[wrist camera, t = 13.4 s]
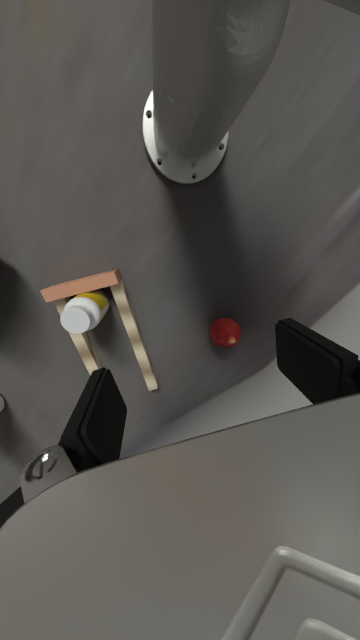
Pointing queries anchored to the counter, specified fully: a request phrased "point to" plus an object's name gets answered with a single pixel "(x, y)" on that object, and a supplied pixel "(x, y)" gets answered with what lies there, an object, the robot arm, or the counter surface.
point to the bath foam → (1, 403)
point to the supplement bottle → (84, 311)
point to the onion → (225, 332)
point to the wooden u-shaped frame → (113, 279)
